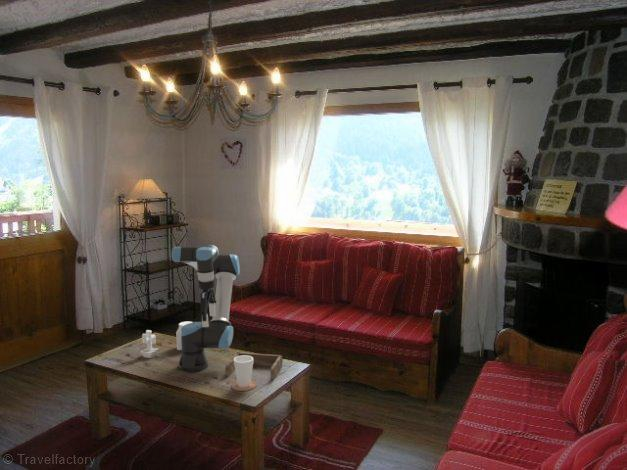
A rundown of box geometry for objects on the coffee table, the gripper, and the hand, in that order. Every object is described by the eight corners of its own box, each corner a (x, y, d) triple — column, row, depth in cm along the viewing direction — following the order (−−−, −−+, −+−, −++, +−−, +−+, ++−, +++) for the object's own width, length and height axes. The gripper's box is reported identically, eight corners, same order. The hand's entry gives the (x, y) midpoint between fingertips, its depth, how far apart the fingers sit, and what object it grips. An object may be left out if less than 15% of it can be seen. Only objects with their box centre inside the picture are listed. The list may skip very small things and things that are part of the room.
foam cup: (243, 378, 252) (243, 353, 250) (257, 383, 247) (257, 357, 245) (230, 385, 244) (229, 359, 243) (244, 390, 239) (243, 364, 237)
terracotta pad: (236, 379, 253) (236, 378, 253) (259, 381, 251) (259, 380, 250) (228, 389, 241) (228, 388, 241) (252, 391, 239) (252, 390, 239)
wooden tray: (237, 362, 274) (237, 352, 273) (282, 366, 270) (282, 355, 269) (226, 376, 257) (225, 364, 256) (273, 379, 252) (273, 368, 252)
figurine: (160, 354, 286) (159, 328, 284) (149, 360, 278) (148, 333, 276) (150, 352, 289) (148, 327, 287) (138, 358, 280) (137, 332, 278)
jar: (173, 349, 295) (172, 324, 293) (184, 344, 303) (184, 319, 301) (189, 352, 290) (188, 327, 288) (200, 347, 298) (199, 322, 296)
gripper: (205, 271, 254) (208, 311, 258) (190, 288, 229) (194, 331, 234) (220, 271, 253) (222, 311, 258) (207, 288, 229) (210, 331, 234)
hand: (209, 321), depth 246 cm, fingers open, 13 cm apart
